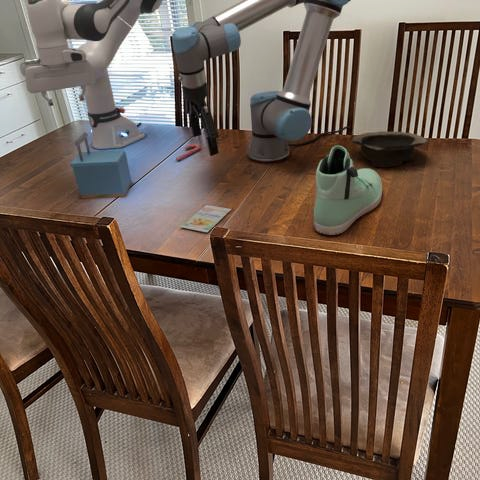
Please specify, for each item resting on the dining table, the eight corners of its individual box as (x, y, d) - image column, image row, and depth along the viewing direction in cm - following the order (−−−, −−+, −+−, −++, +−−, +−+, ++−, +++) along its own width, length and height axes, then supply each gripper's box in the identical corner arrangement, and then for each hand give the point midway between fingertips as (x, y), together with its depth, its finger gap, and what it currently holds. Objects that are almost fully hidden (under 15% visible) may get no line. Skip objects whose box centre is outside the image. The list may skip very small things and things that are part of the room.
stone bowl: (385, 177, 154) (386, 150, 149) (337, 159, 174) (336, 134, 170) (441, 159, 162) (444, 132, 158) (389, 143, 183) (390, 119, 178)
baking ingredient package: (180, 226, 135) (206, 203, 147) (180, 227, 136) (206, 205, 147) (207, 231, 132) (231, 208, 143) (207, 232, 132) (231, 209, 143)
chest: (80, 198, 158) (72, 167, 152) (90, 185, 166) (83, 155, 161) (124, 196, 157) (117, 165, 151) (132, 183, 165) (125, 153, 159)
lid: (70, 167, 152) (64, 142, 148) (81, 155, 161) (75, 131, 156) (117, 165, 151) (112, 140, 147) (125, 153, 159) (120, 129, 155)
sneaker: (389, 187, 148) (396, 123, 138) (356, 242, 123) (361, 168, 112) (346, 181, 154) (350, 119, 144) (306, 232, 129) (307, 161, 118)
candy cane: (166, 159, 182) (166, 155, 181) (191, 146, 192) (191, 142, 191) (178, 161, 179) (177, 158, 178) (203, 148, 189) (203, 144, 188)
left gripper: (17, 63, 137) (31, 111, 144) (90, 53, 142) (100, 100, 149) (18, 59, 142) (31, 106, 149) (88, 50, 147) (98, 95, 154)
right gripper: (167, 72, 149) (181, 131, 164) (199, 104, 132) (211, 166, 147) (189, 65, 151) (200, 124, 166) (223, 95, 134) (232, 158, 149)
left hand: (66, 103), depth 149 cm, fingers open, 8 cm apart
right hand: (205, 144), depth 156 cm, fingers open, 13 cm apart
